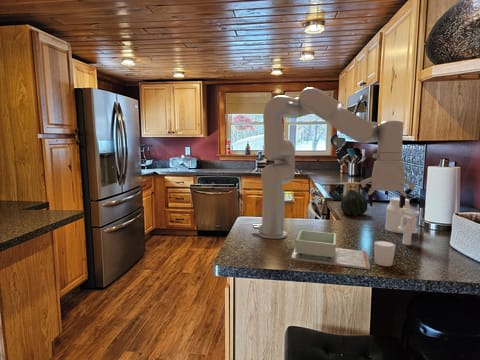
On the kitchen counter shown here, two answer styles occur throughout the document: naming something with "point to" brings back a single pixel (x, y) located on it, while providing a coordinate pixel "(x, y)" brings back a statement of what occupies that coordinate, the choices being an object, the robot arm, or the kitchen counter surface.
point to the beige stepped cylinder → (408, 224)
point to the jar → (395, 214)
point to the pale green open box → (316, 243)
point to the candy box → (350, 187)
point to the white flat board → (338, 258)
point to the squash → (354, 203)
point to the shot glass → (384, 252)
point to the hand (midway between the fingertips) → (385, 206)
